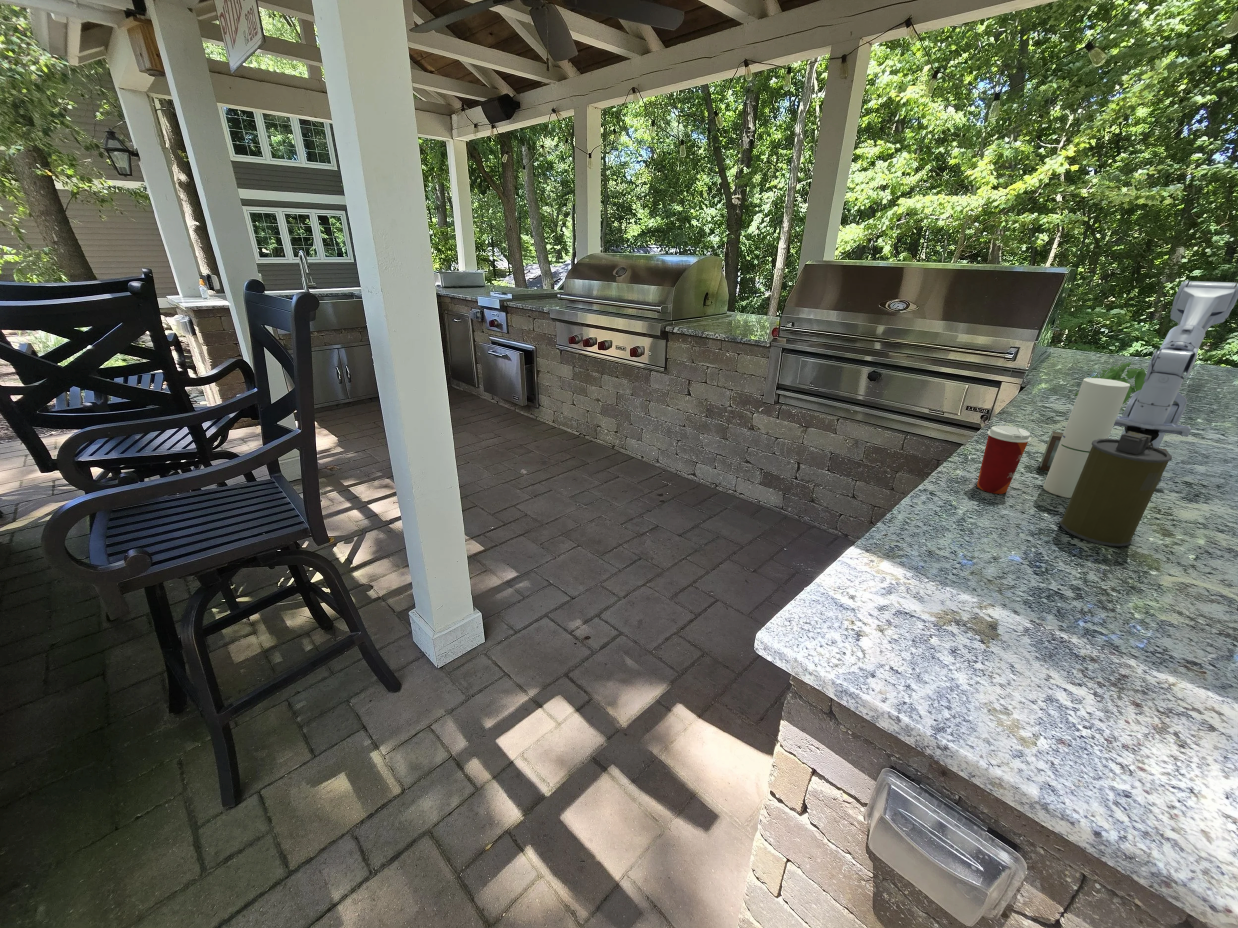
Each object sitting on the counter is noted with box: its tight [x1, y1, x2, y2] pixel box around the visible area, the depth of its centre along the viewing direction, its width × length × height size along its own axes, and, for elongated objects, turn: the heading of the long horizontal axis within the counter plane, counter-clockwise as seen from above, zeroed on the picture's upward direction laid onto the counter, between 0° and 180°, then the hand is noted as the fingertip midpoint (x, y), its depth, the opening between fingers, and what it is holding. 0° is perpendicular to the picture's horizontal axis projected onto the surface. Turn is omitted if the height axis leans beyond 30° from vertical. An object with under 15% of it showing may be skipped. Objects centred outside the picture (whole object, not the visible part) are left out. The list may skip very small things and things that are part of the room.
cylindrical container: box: [1042, 377, 1131, 499], centre depth 107 cm, size 7×7×25 cm
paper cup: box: [976, 425, 1032, 495], centre depth 111 cm, size 8×8×14 cm
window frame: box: [1039, 430, 1169, 472], centre depth 117 cm, size 4×20×9 cm, turn 53°
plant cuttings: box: [1074, 361, 1147, 412], centre depth 152 cm, size 35×17×22 cm
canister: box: [1059, 431, 1173, 548], centre depth 92 cm, size 11×10×20 cm
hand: (1129, 458), depth 118 cm, fingers closed
